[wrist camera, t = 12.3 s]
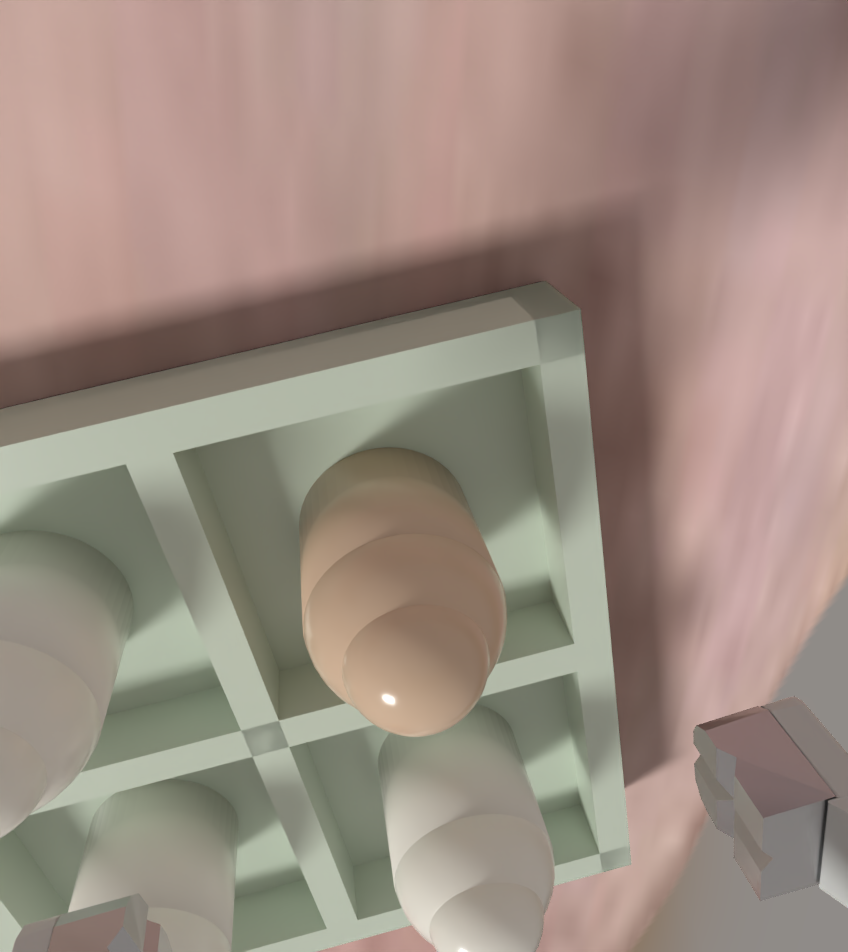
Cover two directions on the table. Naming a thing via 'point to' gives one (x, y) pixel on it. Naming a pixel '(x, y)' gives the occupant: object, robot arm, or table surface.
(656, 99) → the table surface
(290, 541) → the egg tray
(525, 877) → the cream egg
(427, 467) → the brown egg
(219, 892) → the cream egg
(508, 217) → the table surface
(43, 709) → the cream egg
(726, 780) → the robot arm
